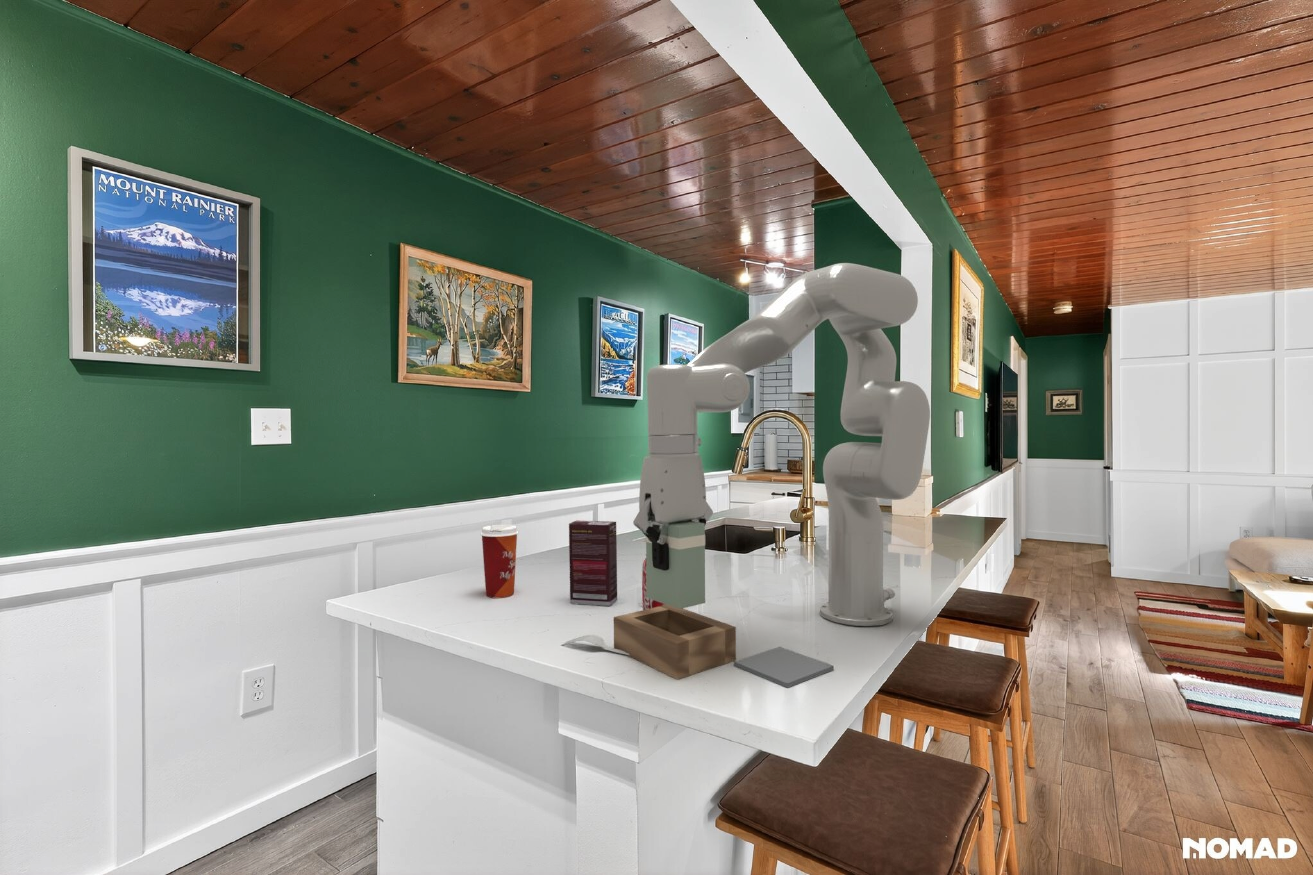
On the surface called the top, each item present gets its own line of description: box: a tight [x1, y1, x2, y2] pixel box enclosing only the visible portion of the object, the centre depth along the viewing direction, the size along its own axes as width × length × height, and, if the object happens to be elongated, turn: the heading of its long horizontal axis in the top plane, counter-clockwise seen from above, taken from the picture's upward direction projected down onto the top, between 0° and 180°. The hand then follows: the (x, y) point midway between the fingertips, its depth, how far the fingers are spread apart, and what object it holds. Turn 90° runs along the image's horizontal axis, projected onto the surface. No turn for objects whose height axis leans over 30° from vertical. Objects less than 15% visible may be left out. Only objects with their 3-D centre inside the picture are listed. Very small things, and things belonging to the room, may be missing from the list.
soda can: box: [641, 558, 666, 610], centre depth 114 cm, size 7×7×12 cm
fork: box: [560, 634, 629, 656], centre depth 99 cm, size 3×21×3 cm, turn 64°
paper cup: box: [480, 524, 519, 599], centre depth 132 cm, size 8×8×14 cm
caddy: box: [613, 605, 737, 680], centre depth 98 cm, size 11×15×5 cm
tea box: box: [645, 521, 706, 609], centre depth 98 cm, size 5×8×12 cm, turn 38°
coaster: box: [733, 646, 835, 689], centre depth 92 cm, size 10×10×1 cm
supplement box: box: [568, 519, 618, 607], centre depth 126 cm, size 9×5×16 cm, turn 75°
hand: (675, 564), depth 98 cm, fingers closed on tea box, 5 cm apart
